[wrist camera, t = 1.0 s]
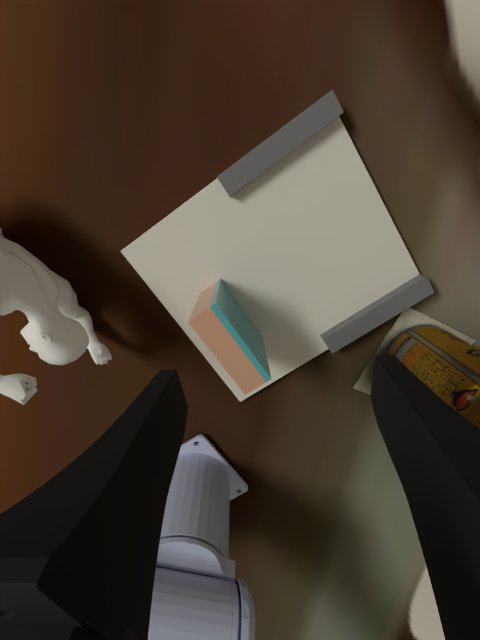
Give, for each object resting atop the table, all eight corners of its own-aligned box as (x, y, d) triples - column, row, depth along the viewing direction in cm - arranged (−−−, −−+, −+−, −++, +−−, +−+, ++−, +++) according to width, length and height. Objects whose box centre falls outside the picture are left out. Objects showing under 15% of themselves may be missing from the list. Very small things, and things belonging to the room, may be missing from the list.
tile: (242, 350, 28) (245, 395, 21) (200, 292, 26) (187, 322, 19) (262, 337, 27) (271, 379, 21) (220, 278, 26) (215, 303, 19)
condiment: (474, 339, 29) (633, 426, 17) (417, 415, 31) (523, 535, 20) (405, 304, 27) (526, 372, 16) (351, 385, 30) (423, 495, 18)
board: (240, 396, 30) (240, 408, 28) (123, 250, 26) (115, 252, 24) (422, 287, 27) (434, 292, 25) (325, 98, 22) (332, 89, 21)
